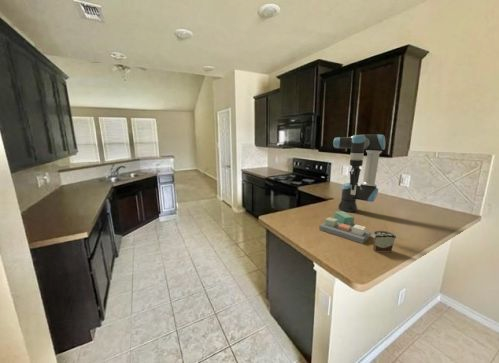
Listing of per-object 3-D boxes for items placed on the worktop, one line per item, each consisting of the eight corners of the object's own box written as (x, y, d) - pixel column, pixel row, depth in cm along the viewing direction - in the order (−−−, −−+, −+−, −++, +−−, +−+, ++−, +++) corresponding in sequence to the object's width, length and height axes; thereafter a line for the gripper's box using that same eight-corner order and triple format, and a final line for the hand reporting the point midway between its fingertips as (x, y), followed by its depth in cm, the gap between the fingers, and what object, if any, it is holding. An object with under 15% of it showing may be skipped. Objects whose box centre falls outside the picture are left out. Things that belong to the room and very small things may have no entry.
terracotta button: (341, 228, 150) (341, 223, 149) (350, 231, 146) (351, 225, 145) (337, 231, 145) (338, 225, 145) (346, 234, 141) (347, 228, 141)
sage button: (328, 222, 155) (329, 217, 155) (337, 224, 151) (337, 219, 150) (325, 224, 151) (325, 219, 150) (333, 227, 147) (333, 221, 146)
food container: (386, 246, 129) (389, 230, 127) (394, 251, 123) (396, 234, 121) (366, 246, 129) (368, 230, 126) (372, 251, 123) (374, 235, 120)
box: (344, 227, 154) (345, 217, 153) (333, 220, 167) (334, 211, 166) (353, 227, 155) (354, 217, 154) (342, 220, 168) (343, 210, 167)
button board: (328, 223, 160) (328, 220, 160) (370, 236, 141) (370, 232, 140) (319, 229, 150) (319, 225, 150) (362, 243, 131) (363, 239, 131)
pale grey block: (355, 230, 143) (356, 224, 142) (365, 233, 139) (366, 227, 138) (351, 232, 139) (352, 227, 138) (361, 235, 135) (362, 229, 134)
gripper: (354, 157, 149) (351, 191, 154) (346, 159, 140) (343, 195, 145) (366, 158, 144) (362, 193, 149) (358, 161, 135) (355, 197, 140)
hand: (353, 194), depth 147 cm, fingers closed
